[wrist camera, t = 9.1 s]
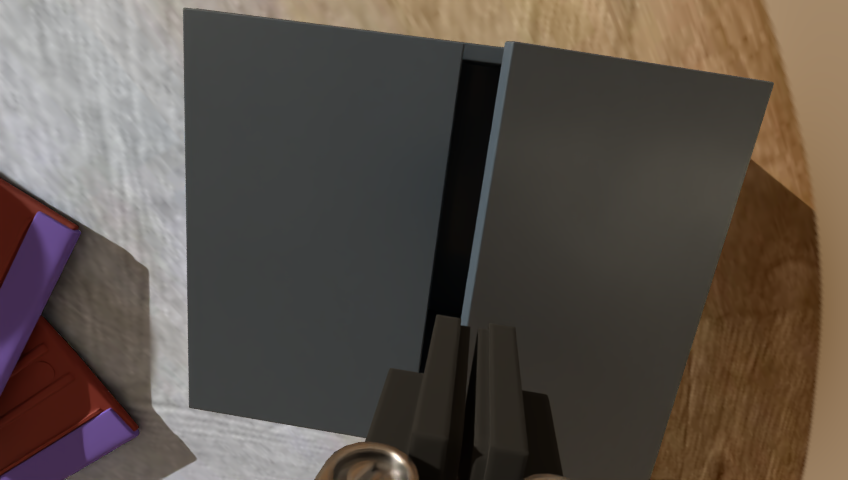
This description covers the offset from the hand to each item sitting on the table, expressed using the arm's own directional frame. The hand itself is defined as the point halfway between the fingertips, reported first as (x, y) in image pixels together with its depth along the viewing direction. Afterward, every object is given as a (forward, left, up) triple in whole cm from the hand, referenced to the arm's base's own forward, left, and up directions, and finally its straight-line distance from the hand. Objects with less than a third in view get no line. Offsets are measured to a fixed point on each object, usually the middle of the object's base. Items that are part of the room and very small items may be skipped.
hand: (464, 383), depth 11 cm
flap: (-3, +2, -5) cm, 6 cm away
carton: (+1, -1, -18) cm, 18 cm away
